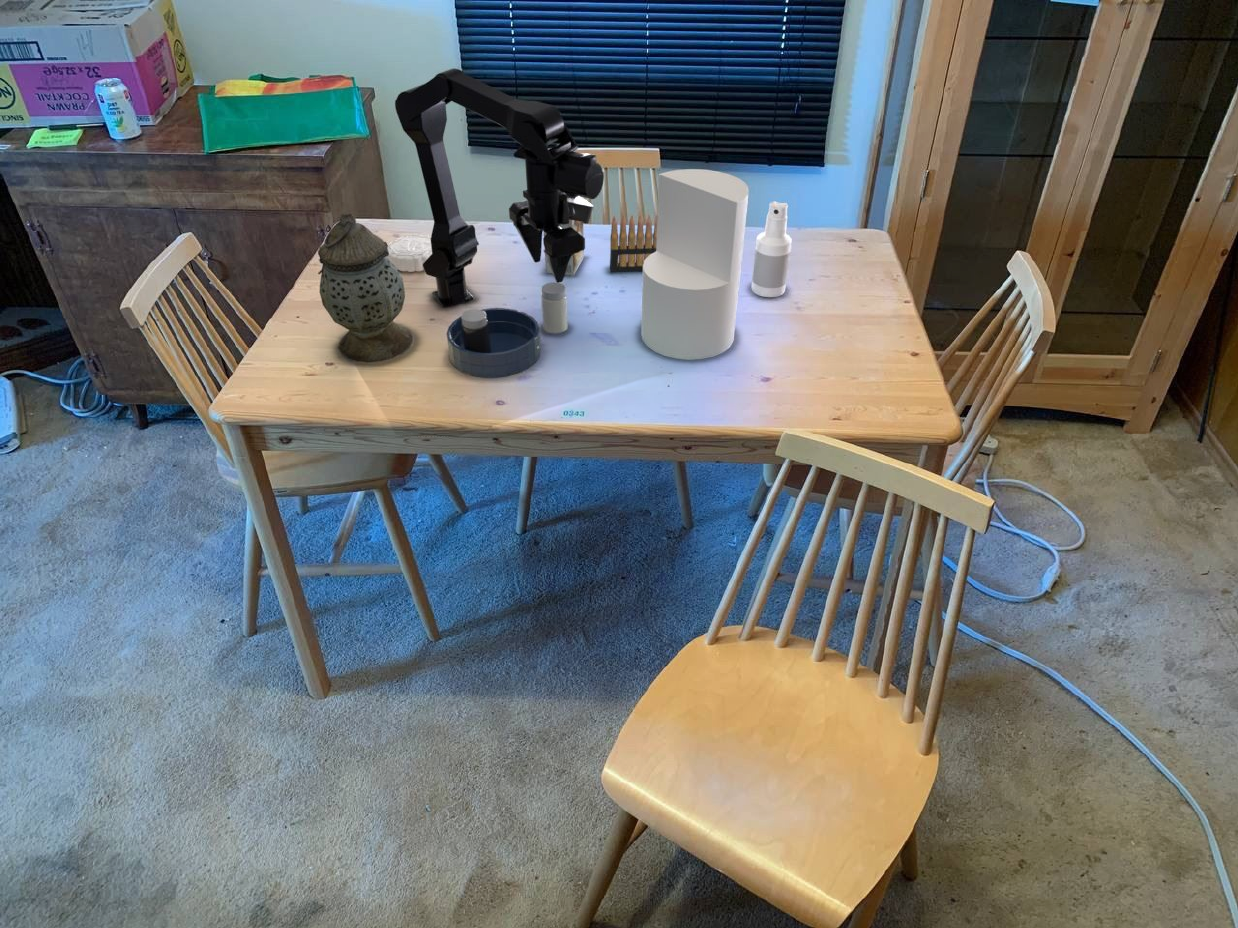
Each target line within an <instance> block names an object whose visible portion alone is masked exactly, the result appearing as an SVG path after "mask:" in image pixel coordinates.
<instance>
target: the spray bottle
mask: <svg viewBox="0 0 1238 928" xmlns="http://www.w3.org/2000/svg"><path fill="white" fill-rule="evenodd" d="M788 206H789V204H788V203H787V202H784V203H783V202H778V201H775V200H773V201H771V202H769V206H768V207H769V208H768V213H767V214H766V222H765V227H764V232H760V234H758V235H757V237H756V242H755V250H754V251H755V253H754V260H753V267H752V268H753V269H752V276H751V277H752V278H751V286H750V287H751V291H752V292H753V293H754V294H755V295H757V296H759V297H763V298H776V297H780V296H782V295H783V294H784V293H785V291H786V286H787V280H788V271H789V265H790V257H791V251H792V244H793V243H792V242H793V239H792V237H791V236H790V235H789V234H787V223H788Z"/></svg>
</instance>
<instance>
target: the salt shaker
mask: <svg viewBox="0 0 1238 928" xmlns="http://www.w3.org/2000/svg"><path fill="white" fill-rule="evenodd" d="M540 299H541V316H542V329H543V331H545V333H549V334H561V333H563V332H565V331H566V330H568V327H569V326H568V305H567V293H566V286H565V285H564V284H562V283H561V282H559V283H557V282H548V283H545V284H543V285H542V286H541V295H540Z"/></svg>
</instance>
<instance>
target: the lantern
mask: <svg viewBox="0 0 1238 928" xmlns="http://www.w3.org/2000/svg"><path fill="white" fill-rule="evenodd" d="M323 242H324V243H323V244H321V246H320V247H318V248H319V249H318V250H317V255H318V257H319V259H318V260H319V263H320V264H322V266H321V269H320V270H319V271H318V273H317V274H318V275H320V281H319V295H320V300H321V303H322V306H323V307H324V309H325V311H326V313H328V315H329V317H330V318H331V320H333V322H334V323H335V324H337V325H339V326H341V327H343V328H345V329H346V330H348V331H347V332H346V334H345V335H343V337H342V338H341V340H340V341H339V343H338V347H337V349H338V350H339V352H340V354H341V356H342V358H345V359H346V360H347V361H350V362H353V361H355V362H359V363H379V362H385V361H389V360H392V359H395V358H397V357H399V356H401V355H404V354H405V353H407V352H408V351H409V350H410V349H411V348H412V346H413V345H414V343H415V335H414V333H412V331H411V330H410V329H408V328H407V327H405V326H403V325H401V324H399V323H398V322H397V323H396V321H394V320H395V319H396V318H397V317H398V316H399V315H400V314H401V312H402V310H403V307H404V303H405V298H406V292H405V291H406V290H405V286H404V280H403V276H402V275H401V273H400V272H399V271H400V270H397V268H396V266H395V265H394V264H393V263H391V262H390V261H389V260H388V259H387V258H386V257H387V256H388V255H389V252H388V248H387V247H388V243H387V242H386V241H384V239H383V238H381V237H380V236H379V235H377V234H375V233H374V232H372V231H371V230H370V229H369V228H368V227H366V226H365V225H364V224H363V223H359V222H357V219H356V216H355V215H354V214H353V213H352V212H350V211H349V212H348V211H346V212H343V213H342V214H341V215H340V217H339V221H338V222H337V223H335V225H333V226H332V228H331V229H330V231H328V233H327V234H326V237H325V239H324V241H323Z"/></svg>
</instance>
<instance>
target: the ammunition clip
mask: <svg viewBox="0 0 1238 928" xmlns="http://www.w3.org/2000/svg"><path fill="white" fill-rule="evenodd" d="M628 222H629V223H628V232H627V221H626V218H625V215H622V216H621V219H620V224H619V229H618V219H617V217H616V216H615V215H614V216H613V217H612V220H611V229H610V236H609V237H610V239H609V240H610V244H609V245H610V247H609V249H610V250H609V251H610V254H609V272H610V273H613V274H614V273H638V272H642V273H643V264H644V260H645V259H646V258H647V257H648V256H649V255H651V254H652V253H654V252H656V244H657V215H656V216H655V220H654V225H653V223H652V217H651V215H650V214H648V215H647V218H646V222H645V232H644V220H643V216H642V215H641V214H640V215H639V217H638V219H637V227H636V225H635V218H634V215H630V218H629V221H628ZM653 226H654V227H653ZM652 227H653V228H652ZM618 230H619V231H618ZM618 232H619V233H618ZM627 233H628V234H627Z"/></svg>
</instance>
